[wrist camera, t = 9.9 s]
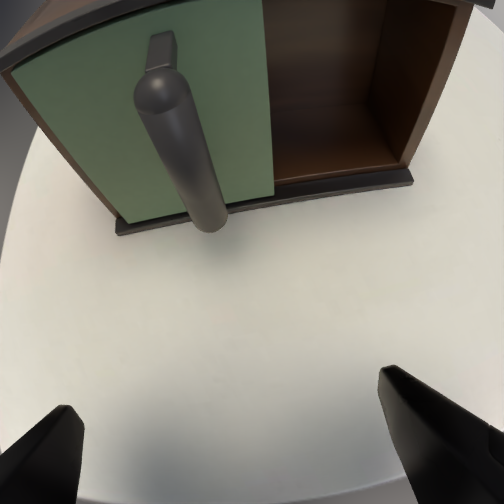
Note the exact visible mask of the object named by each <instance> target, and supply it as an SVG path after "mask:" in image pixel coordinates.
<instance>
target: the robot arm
mask: <svg viewBox="0 0 504 504" xmlns="http://www.w3.org/2000/svg"><path fill="white" fill-rule="evenodd" d="M378 396H379V399H380V402H381V405H382V409H383V412H384V415H385V419H386V422H387V425H388V429H389V432H390V435H391V439H392V441H393V444H394V447H395V449H396V451H397V453H398V456H399V458H400V460H401V463H402V465H403V467H404V470H405V472H406V475H407V477H408V479H409V482H410V484H411V486H412V489H413V491H414V494H415V496H416V499H417V501H418V504H504V433H503V432H501V431H500V430H498V429H496V428H495V427H493V426H492V425H490V426H489V424H488V423H486V422H485V421H483V420H482V419H480V418H478V417H477V416H475V415H474V414H472V413H470V412H469V411H467V410H466V409H464V408H462V407H461V406H459V405H458V404H456V403H455V402H453V401H451V400H450V399H448V398H447V397H445V396H443V395H442V394H440V393H439V392H437V391H436V390H434V389H432V388H431V387H429V386H428V385H426V384H425V383H423V382H421V381H420V380H418V379H417V378H415V377H414V376H412V375H410V374H409V373H407V372H406V371H404V370H403V369H401V368H400V367H398V366H396V365H390V366H387V367H383V368H381V369H380V372H379V381H378ZM84 430H85V428H84V423H83V421H82V420H81V418H80V417H79V416H78V414H77V413H76V411H75V410H74V409H73V407H72V406H70V405H58V406H57V407H56V408H55V409H54V410H52V411H51V412H50V413H49V414H48V415H47V416H45V417H44V418H43V419H42V420H41V421H40V422H38V423H37V424H36V425H35V426H34V427H33V428H31V429H30V430H29V431H28V432H27V433H26V434H24V435H23V436H22V437H21V438H20V439H19V440H17V441H16V442H15V443H14V444H13V445H12V446H11V447H9V448H8V449H7V450H6V451H5V452H4V453H2V454H1V455H0V504H76V498H77V491H78V485H79V479H80V472H81V464H82V451H83V440H84Z"/></svg>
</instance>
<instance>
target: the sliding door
mask: <svg viewBox="0 0 504 504" xmlns="http://www.w3.org/2000/svg"><path fill="white" fill-rule="evenodd" d="M11 75H12V76H13V78H14V79H15V80H16V82H17V83H18V85H19V86H20V88H21V89H22V90H23V92H24V93H25V95H26V96H27V97H28V99H29V100H30V102H31V103H32V104H33V106H34V107H35V108H36V110H37V111H38V113H39V114H40V115H41V117H42V118H43V119H44V121H45V122H46V123H47V125H48V126H49V127H50V129H51V130H52V131H53V133H54V134H55V135H56V136H57V138H58V139H59V140H60V142H61V143H62V144H63V145H64V147H65V148H66V149H67V151H68V152H69V153H70V154H71V156H72V157H73V158H74V159H75V161H76V162H77V163H78V164H79V166H80V167H81V168H82V169H83V171H84V172H85V173H86V174H87V175H88V177H89V178H90V179H91V180H92V182H93V183H94V184H95V185H96V186H97V188H98V189H99V190H100V191H101V192H102V194H103V195H104V196H105V197H106V198H107V199H108V201H109V202H110V203H111V204H112V205H113V206H114V208H115V209H116V210H117V211H118V212H119V213H120V215H121V216H122V217H123V218H124V219H125V220H126V221H127V223H128V224H130V223H135V222H139V221H144V220H148V219H153V218H157V217H162V216H167V215H172V214H176V213H181V212H186V211H188V213H189V215H190V217H191V219H192V221H193V223H194V225H195V226H196V227H197V228H198V229H199V230H201V231H203V232H206V233H213V232H216V231H218V230H220V229H221V228H222V227H223V226H224V225H225V223H226V221H227V217H228V213H227V208H226V205H225V204H227V203H232V202H238V201H243V200H249V199H254V198H260V197H266V196H272V195H274V174H273V155H272V137H271V120H270V103H269V88H268V73H267V59H266V46H265V33H264V20H263V8H262V0H174V1H170V2H166V3H162V4H159V5H155V6H152V7H148V8H145V9H141V10H138V11H135V12H132V13H129V14H126V15H123V16H120V17H117V18H114V19H112V20H109V21H106V22H104V23H101V24H98V25H96V26H93V27H91V28H88V29H86V30H84V31H81V32H79V33H77V34H74V35H72V36H70V37H68V38H66V39H63V40H61V41H59V42H57V43H55V44H53V45H51V46H49V47H47V48H45V49H43V50H41V51H39V52H37V53H35V54H34V55H32V56H30V57H28V58H26V59H25V60H23V61H21V62H19V63H18V64H16V65H15V66H14V68H13V69H12V71H11Z"/></svg>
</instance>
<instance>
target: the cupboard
mask: <svg viewBox="0 0 504 504" xmlns="http://www.w3.org/2000/svg"><path fill="white" fill-rule="evenodd" d="M170 1H174V0H46V1H45V2H44V3H43V4H42V5H41V6H40V7H39V8H38V9H37V10H36V11H35V13H34V14H33V15H32V16H31V17H30V18H29V20H28V21H27V22H26V23H25V24H24V25H23V27H22V28H21V29H20V30H19V31H18V32H17V34H16V35H15V36H14V38H13V39H12V40H11V41H10V42H9V44H8V45H7V46H6V47H5V48H4V49H2V50H1V51H0V74H1V76H2V77H3V79H4V80H5V81H6V83H7V84H8V86H9V87H10V88H11V90H12V91H13V93H14V94H15V95H16V97H17V98H18V99H19V101H20V102H21V103H22V104H23V106H24V107H25V109H26V110H27V111H28V113H29V114H30V115H31V117H32V118H33V119H34V121H35V122H36V123H37V125H38V126H39V127H40V128H41V130H42V131H43V132H44V133H45V135H46V136H47V137H48V139H49V140H50V141H51V142H52V144H53V145H54V146H55V147H56V148H57V150H58V151H59V152H60V153H61V155H62V156H63V157H64V158H65V159H66V161H67V162H68V163H69V164H70V165H71V167H72V168H73V169H74V170H75V171H76V173H77V174H78V175H79V176H80V177H81V179H82V180H83V181H84V182H85V183H86V184H87V186H88V187H89V188H90V189H91V190H92V191H93V192H94V194H95V195H96V196H97V197H98V198H99V199H100V200H101V202H102V203H103V204H104V205H105V206H106V207H107V208H108V209H109V211H110V212H111V213H112V214H113V215H114V216H115V217H116V218H117V219H116V228H115V233H116V234H117V235H118V236H121V235H126V234H130V233H135V232H139V231H144V230H149V229H154V228H158V227H163V226H168V225H173V224H178V223H183V222H188V221H192V219H191V217H190V215H189V213H188V211H186V212H181V213H176V214H172V215H167V216H162V217H157V218H153V219H148V220H144V221H139V222H135V223H130V224H128V223H127V221H126V220H125V219H124V218H123V217H122V216H121V215H120V213H119V212H118V211H117V210H116V209H115V208H114V206H113V205H112V204H111V203H110V202H109V201H108V199H107V198H106V197H105V196H104V195H103V194H102V192H101V191H100V190H99V189H98V188H97V186H96V185H95V184H94V183H93V182H92V180H91V179H90V178H89V177H88V175H87V174H86V173H85V172H84V171H83V169H82V168H81V167H80V166H79V164H78V163H77V162H76V161H75V159H74V158H73V157H72V156H71V154H70V153H69V152H68V151H67V149H66V148H65V147H64V145H63V144H62V143H61V142H60V140H59V139H58V138H57V136H56V135H55V134H54V133H53V131H52V130H51V129H50V127H49V126H48V125H47V123H46V122H45V121H44V119H43V118H42V117H41V115H40V114H39V113H38V111H37V110H36V108H35V107H34V106H33V104H32V103H31V102H30V100H29V99H28V97H27V96H26V95H25V93H24V92H23V90H22V89H21V88H20V86H19V85H18V83H17V82H16V80H15V79H14V78H13V76H12V75H11V71H12V69H13V68H14V66H15V65H16V64H18V63H19V62H21V61H23V60H25V59H26V58H28V57H30V56H32V55H34V54H35V53H37V52H39V51H41V50H43V49H45V48H47V47H49V46H51V45H53V44H55V43H57V42H59V41H61V40H63V39H66V38H68V37H70V36H72V35H74V34H77V33H79V32H81V31H84V30H86V29H88V28H91V27H93V26H96V25H98V24H101V23H104V22H106V21H109V20H112V19H114V18H117V17H120V16H123V15H126V14H129V13H132V12H135V11H138V10H141V9H145V8H148V7H152V6H155V5H159V4H162V3H166V2H170ZM474 4H476V5H479V6H483V7H486V8H489V9H493V7H494V4H495V0H262V8H263V20H264V33H265V46H266V59H267V73H268V88H269V103H270V120H271V137H272V155H273V174H274V195H272V196H266V197H260V198H254V199H249V200H243V201H238V202H232V203H227V204H225V205H226V208H227V213H228V214H230V213H235V212H240V211H246V210H252V209H257V208H263V207H269V206H274V205H280V204H286V203H292V202H298V201H304V200H310V199H317V198H323V197H329V196H336V195H343V194H349V193H356V192H363V191H370V190H377V189H384V188H392V187H399V186H407V185H412V184H413V182H414V179H413V177H412V175H411V173H410V171H409V169H408V166H409V164H410V162H411V160H412V158H413V156H414V154H415V152H416V150H417V147H418V145H419V143H420V141H421V139H422V137H423V135H424V133H425V130H426V128H427V126H428V124H429V122H430V119H431V117H432V115H433V113H434V110H435V108H436V106H437V103H438V101H439V99H440V96H441V94H442V91H443V89H444V87H445V84H446V82H447V79H448V77H449V74H450V72H451V69H452V67H453V64H454V61H455V59H456V56H457V53H458V51H459V48H460V45H461V42H462V40H463V37H464V34H465V31H466V28H467V25H468V22H469V19H470V16H471V13H472V10H473V6H474Z"/></svg>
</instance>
